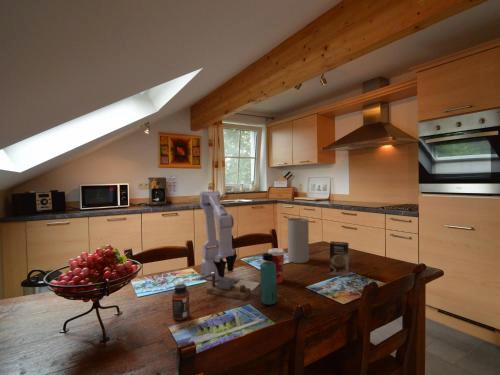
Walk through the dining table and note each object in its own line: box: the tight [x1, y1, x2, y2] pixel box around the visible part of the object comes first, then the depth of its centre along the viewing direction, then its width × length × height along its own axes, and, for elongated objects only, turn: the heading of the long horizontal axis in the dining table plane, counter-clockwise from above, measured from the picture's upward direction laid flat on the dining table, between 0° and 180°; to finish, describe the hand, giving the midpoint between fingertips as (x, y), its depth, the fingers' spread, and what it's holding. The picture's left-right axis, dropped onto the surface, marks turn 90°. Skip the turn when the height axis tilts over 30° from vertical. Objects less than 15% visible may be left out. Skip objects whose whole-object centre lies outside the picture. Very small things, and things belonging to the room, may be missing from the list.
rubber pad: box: [235, 279, 261, 292], centre depth 121 cm, size 10×9×1 cm
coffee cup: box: [267, 247, 285, 284], centre depth 126 cm, size 8×8×15 cm
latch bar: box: [197, 271, 216, 281], centre depth 113 cm, size 9×2×1 cm, turn 140°
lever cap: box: [217, 276, 236, 291], centre depth 113 cm, size 6×4×4 cm
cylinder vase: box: [286, 217, 310, 264], centre depth 157 cm, size 12×12×25 cm
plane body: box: [206, 276, 251, 301], centre depth 113 cm, size 18×7×7 cm, turn 65°
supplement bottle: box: [171, 283, 191, 321], centre depth 94 cm, size 6×6×11 cm
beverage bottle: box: [259, 252, 278, 305], centre depth 102 cm, size 6×7×20 cm
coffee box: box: [329, 241, 350, 278], centre depth 133 cm, size 9×6×16 cm
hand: (226, 273), depth 113 cm, fingers open, 7 cm apart
